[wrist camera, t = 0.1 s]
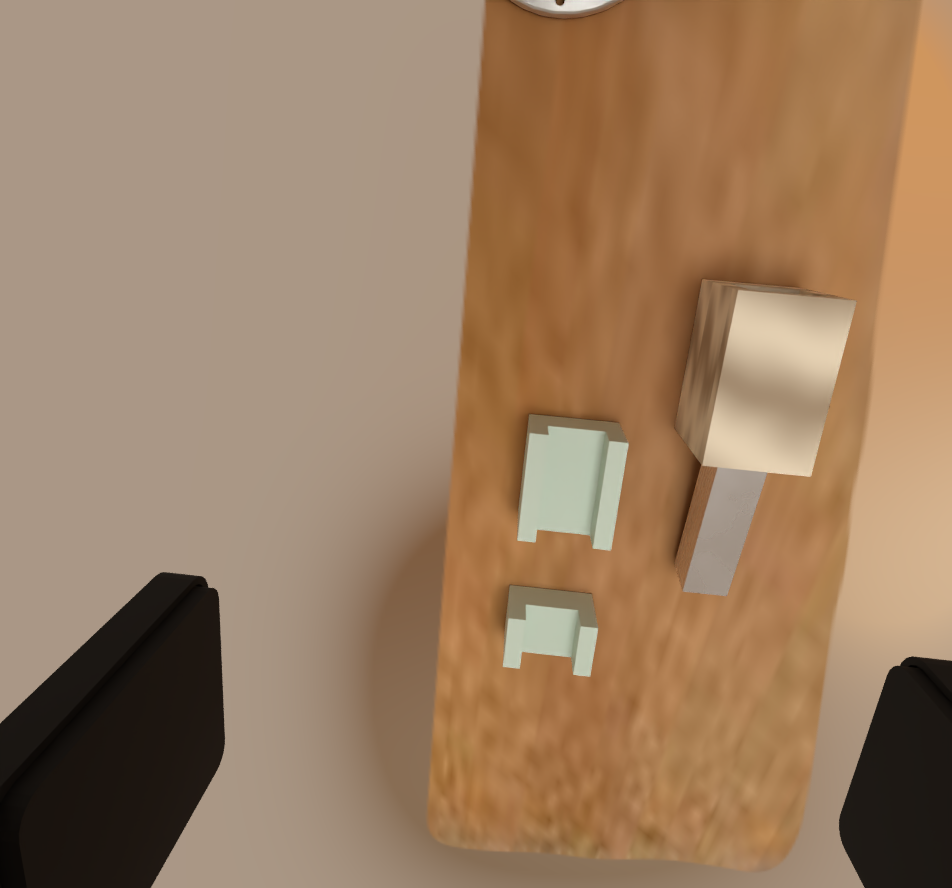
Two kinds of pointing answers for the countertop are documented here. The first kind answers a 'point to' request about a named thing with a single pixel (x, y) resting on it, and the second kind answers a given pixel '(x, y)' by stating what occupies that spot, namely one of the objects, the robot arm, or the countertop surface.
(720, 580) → the axle
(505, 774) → the countertop surface
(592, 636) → the cradle
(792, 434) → the block
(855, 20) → the countertop surface
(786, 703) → the countertop surface
